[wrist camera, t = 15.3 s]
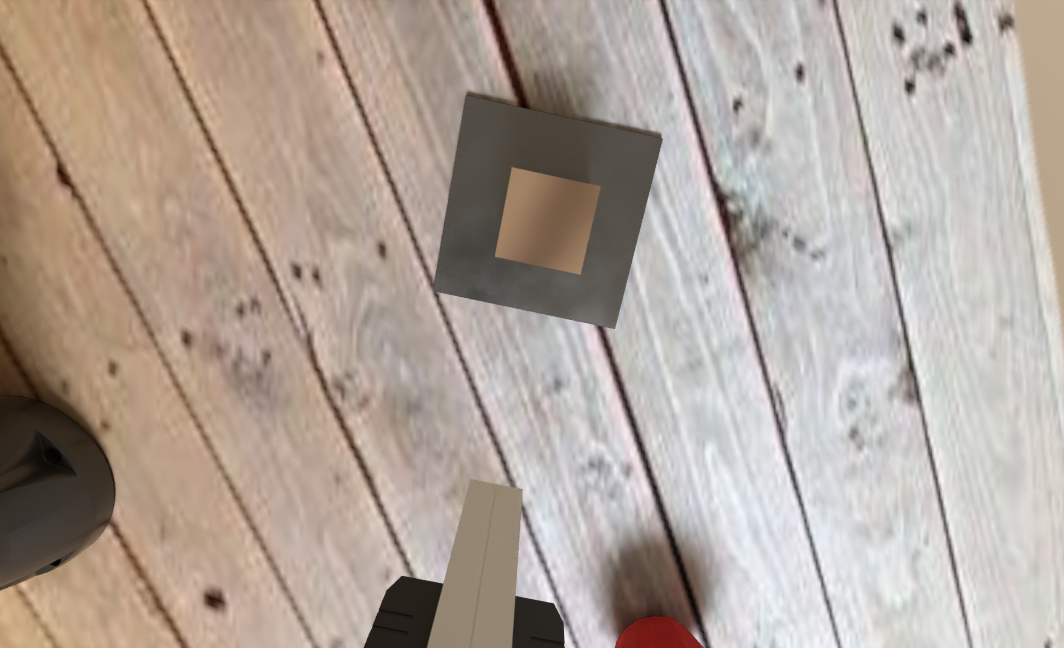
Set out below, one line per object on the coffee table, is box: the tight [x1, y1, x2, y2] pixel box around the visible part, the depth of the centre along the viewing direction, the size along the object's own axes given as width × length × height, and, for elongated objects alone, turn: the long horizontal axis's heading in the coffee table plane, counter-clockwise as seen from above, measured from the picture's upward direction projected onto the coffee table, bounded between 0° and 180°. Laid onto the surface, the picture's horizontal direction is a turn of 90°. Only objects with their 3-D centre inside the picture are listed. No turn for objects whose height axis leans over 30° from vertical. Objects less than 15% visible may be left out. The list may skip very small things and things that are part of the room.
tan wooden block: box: [495, 167, 601, 275], centre depth 35 cm, size 5×5×8 cm
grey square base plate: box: [433, 96, 663, 329], centre depth 36 cm, size 14×14×6 cm
